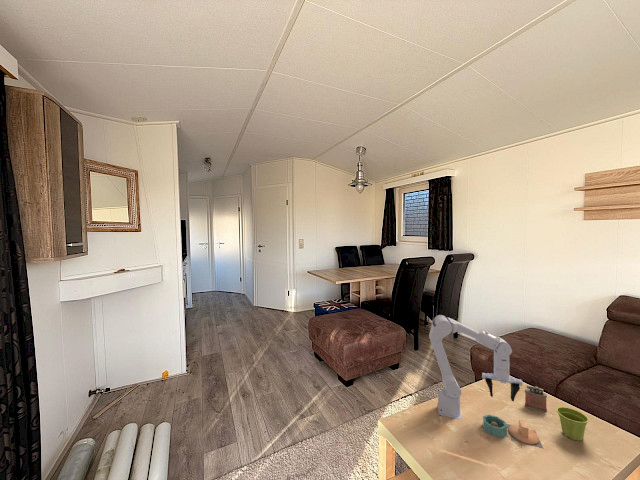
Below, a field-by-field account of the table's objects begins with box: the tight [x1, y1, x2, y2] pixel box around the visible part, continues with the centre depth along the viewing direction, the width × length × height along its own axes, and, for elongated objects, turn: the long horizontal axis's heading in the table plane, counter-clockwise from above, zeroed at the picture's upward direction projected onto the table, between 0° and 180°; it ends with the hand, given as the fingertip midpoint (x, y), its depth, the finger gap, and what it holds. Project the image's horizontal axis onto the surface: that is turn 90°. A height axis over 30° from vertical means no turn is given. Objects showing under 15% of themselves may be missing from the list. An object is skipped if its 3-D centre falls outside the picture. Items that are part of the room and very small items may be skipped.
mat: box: [506, 423, 545, 449], centre depth 106 cm, size 10×10×1 cm
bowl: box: [482, 414, 508, 438], centre depth 109 cm, size 8×8×4 cm
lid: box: [508, 418, 540, 446], centre depth 106 cm, size 10×10×5 cm
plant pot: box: [556, 406, 590, 442], centre depth 106 cm, size 9×9×9 cm
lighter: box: [524, 384, 548, 413], centre depth 123 cm, size 8×3×10 cm, turn 58°
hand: (501, 397), depth 115 cm, fingers open, 7 cm apart
